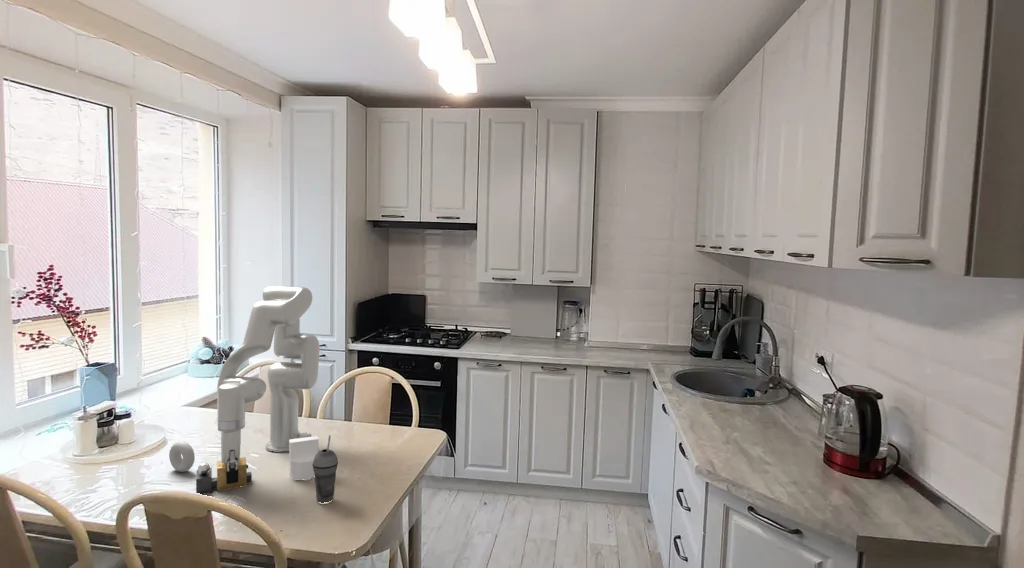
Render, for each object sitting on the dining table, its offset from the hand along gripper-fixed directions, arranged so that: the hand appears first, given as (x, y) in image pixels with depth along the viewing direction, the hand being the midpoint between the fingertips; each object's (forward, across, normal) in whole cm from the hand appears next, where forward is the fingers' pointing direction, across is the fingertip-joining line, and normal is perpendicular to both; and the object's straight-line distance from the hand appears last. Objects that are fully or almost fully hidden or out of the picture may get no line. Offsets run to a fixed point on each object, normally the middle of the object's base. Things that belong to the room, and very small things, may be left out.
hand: (231, 476), depth 166 cm
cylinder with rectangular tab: (+3, +2, +21) cm, 21 cm away
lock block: (+3, 0, 0) cm, 3 cm away
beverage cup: (+3, +23, +24) cm, 33 cm away
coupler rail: (+2, 0, -2) cm, 3 cm away
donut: (+3, -17, -14) cm, 22 cm away
